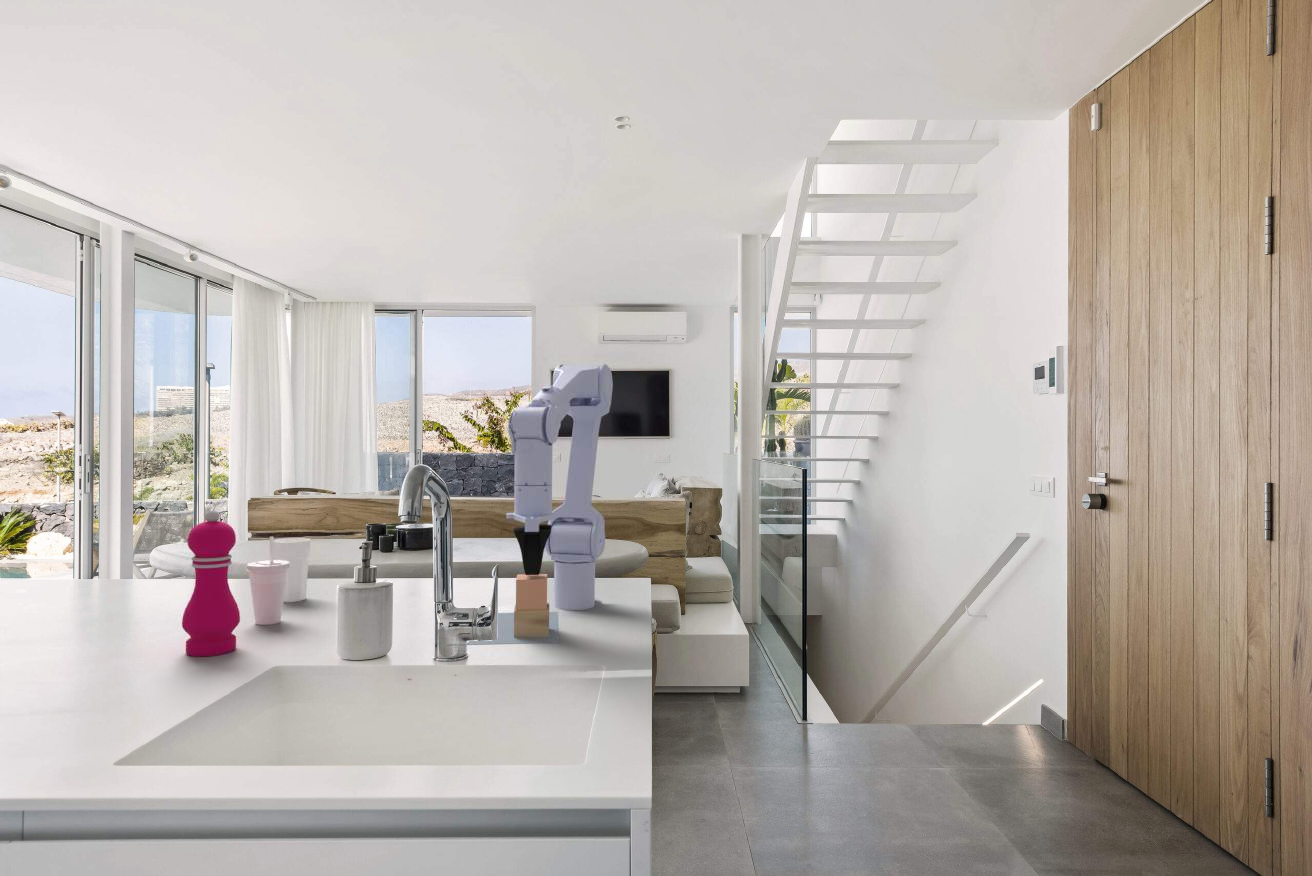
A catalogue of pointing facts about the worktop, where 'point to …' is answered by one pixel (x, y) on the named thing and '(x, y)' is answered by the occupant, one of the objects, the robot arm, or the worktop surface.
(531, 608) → the terracotta block
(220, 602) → the pepper mill
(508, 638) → the board
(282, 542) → the cup
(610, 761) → the worktop surface
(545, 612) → the oak base block
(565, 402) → the robot arm
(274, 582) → the smoothie
